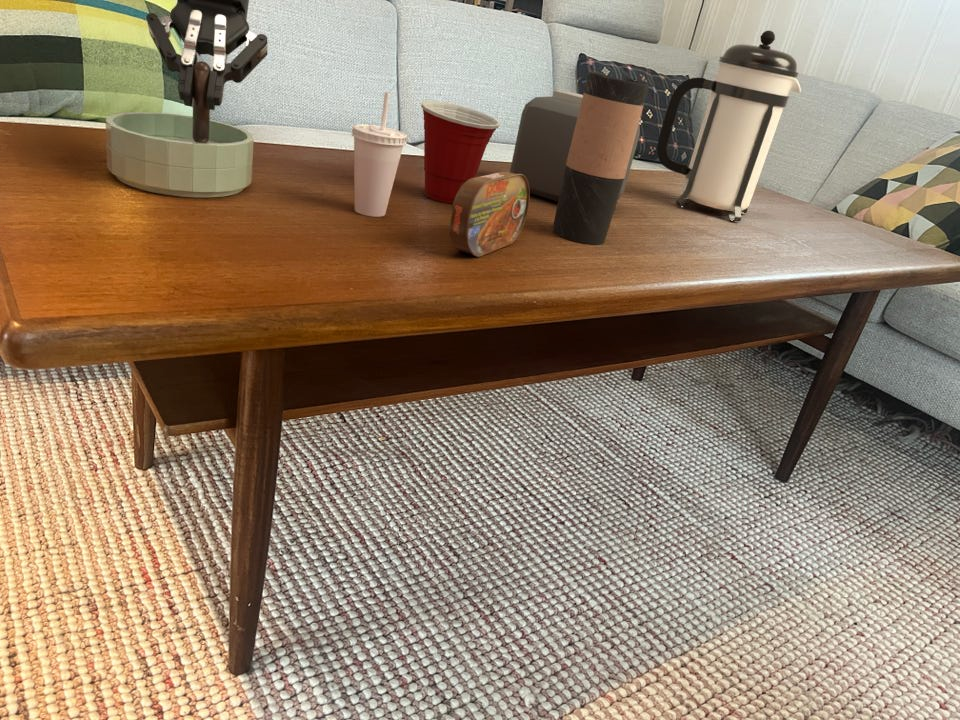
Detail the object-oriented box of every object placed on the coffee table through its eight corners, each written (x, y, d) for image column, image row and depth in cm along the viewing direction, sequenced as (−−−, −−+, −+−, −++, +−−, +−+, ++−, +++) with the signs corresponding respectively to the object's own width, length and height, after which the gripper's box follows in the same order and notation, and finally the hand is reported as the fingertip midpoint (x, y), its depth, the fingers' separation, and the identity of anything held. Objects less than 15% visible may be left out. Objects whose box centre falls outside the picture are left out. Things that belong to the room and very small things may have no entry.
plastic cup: (452, 213, 95) (468, 119, 90) (391, 190, 100) (404, 99, 95) (499, 206, 103) (517, 119, 98) (441, 185, 108) (455, 101, 103)
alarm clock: (619, 208, 118) (646, 108, 111) (597, 218, 108) (625, 110, 102) (529, 181, 123) (550, 85, 117) (500, 188, 114) (521, 84, 107)
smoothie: (358, 220, 84) (373, 94, 78) (334, 203, 88) (346, 83, 82) (406, 220, 88) (423, 99, 82) (380, 204, 92) (395, 88, 86)
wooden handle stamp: (166, 170, 82) (166, 57, 77) (184, 161, 87) (185, 54, 82) (216, 179, 83) (220, 68, 78) (231, 170, 88) (235, 64, 83)
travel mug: (581, 247, 92) (625, 81, 84) (538, 227, 97) (575, 68, 88) (618, 243, 97) (662, 86, 89) (575, 225, 102) (613, 74, 93)
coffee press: (720, 202, 140) (776, 35, 128) (769, 227, 127) (837, 43, 114) (641, 191, 135) (691, 15, 122) (684, 216, 121) (745, 21, 109)
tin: (463, 263, 77) (478, 185, 74) (438, 254, 78) (451, 176, 75) (523, 240, 90) (539, 172, 86) (501, 233, 91) (515, 165, 87)
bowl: (82, 181, 78) (79, 124, 75) (141, 155, 91) (140, 106, 89) (228, 208, 79) (230, 152, 76) (264, 178, 93) (267, 130, 90)
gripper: (148, -61, 80) (124, 69, 75) (278, -34, 83) (263, 92, 78) (158, -9, 87) (136, 114, 81) (277, 14, 90) (264, 133, 85)
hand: (199, 103), depth 80 cm, fingers closed on wooden handle stamp
